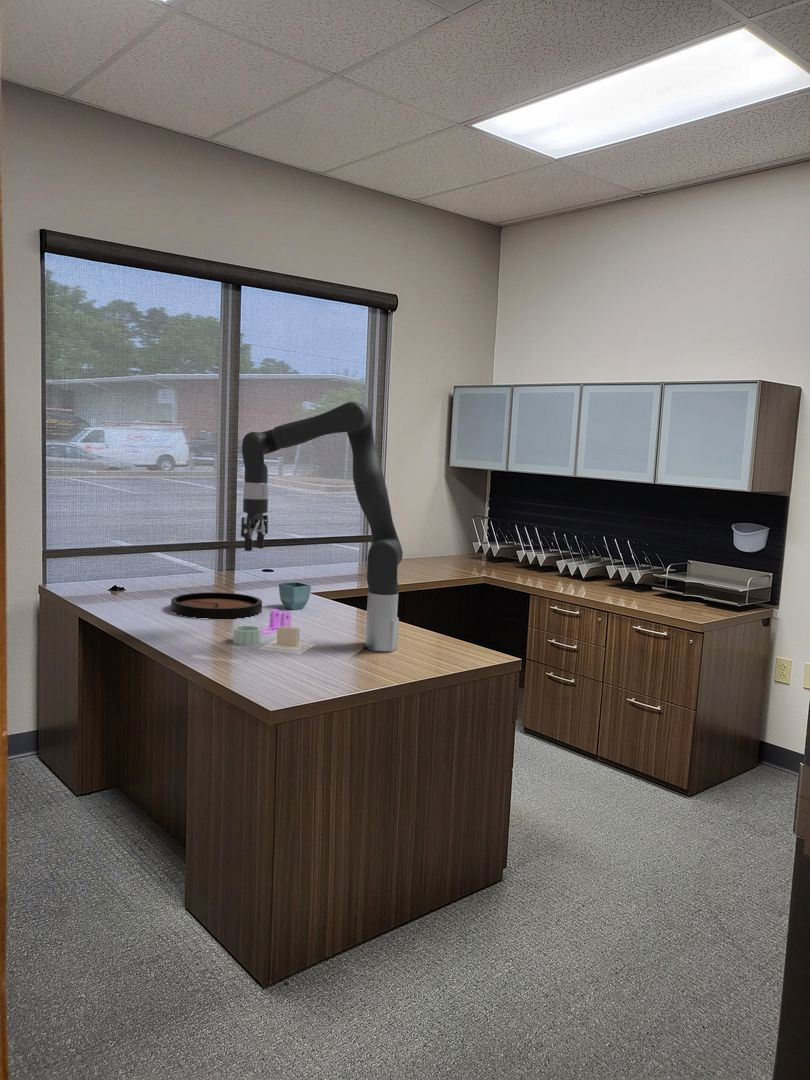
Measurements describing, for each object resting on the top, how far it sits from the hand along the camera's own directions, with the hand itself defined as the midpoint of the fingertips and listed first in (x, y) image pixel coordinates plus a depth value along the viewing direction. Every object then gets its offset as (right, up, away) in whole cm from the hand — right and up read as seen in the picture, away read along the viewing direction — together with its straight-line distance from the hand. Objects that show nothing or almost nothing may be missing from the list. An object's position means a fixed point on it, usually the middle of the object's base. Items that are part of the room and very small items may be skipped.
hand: (254, 549), depth 263 cm
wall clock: (-20, -23, +37) cm, 48 cm away
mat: (+12, -29, -14) cm, 35 cm away
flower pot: (+6, -22, +49) cm, 55 cm away
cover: (+12, -28, -14) cm, 34 cm away
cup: (0, -28, -11) cm, 30 cm away
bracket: (+4, -27, +7) cm, 28 cm away
